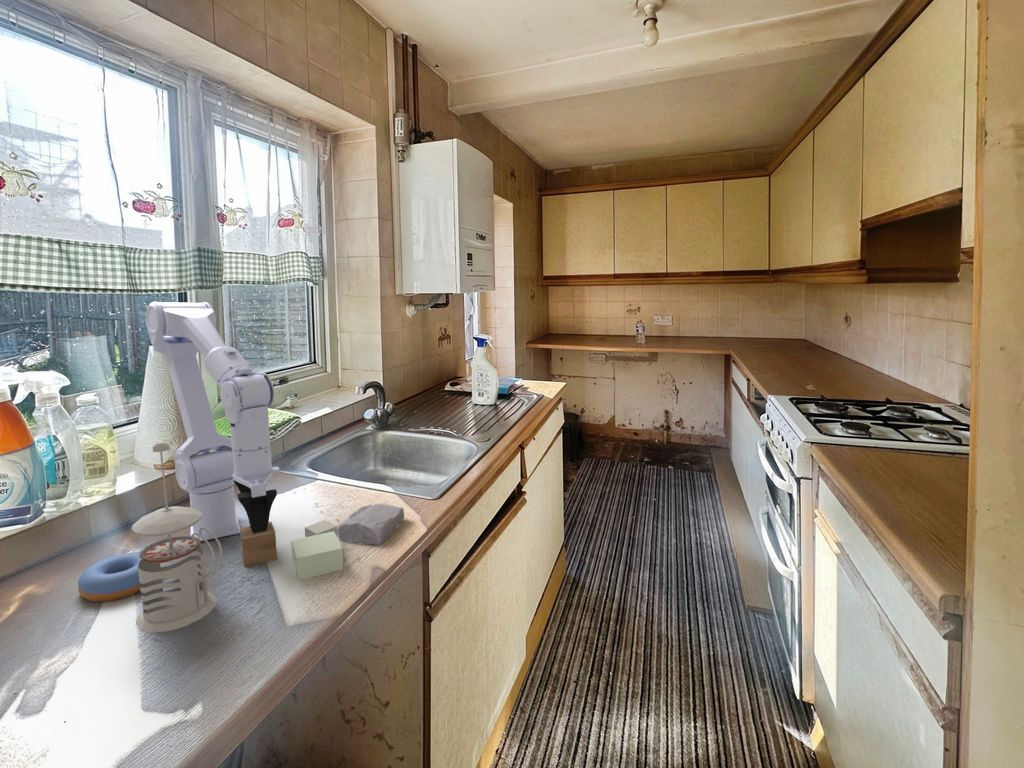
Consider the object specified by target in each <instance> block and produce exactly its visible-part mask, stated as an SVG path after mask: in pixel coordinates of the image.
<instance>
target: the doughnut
mask: <svg viewBox="0 0 1024 768" xmlns="http://www.w3.org/2000/svg"><path fill="white" fill-rule="evenodd" d="M140 552H141V551H135V552H133V551H132V552H124V553H119V554H115V555H112V556H109V557H106V558H103V559H101V560H99V561H96V563H94V564H91V565H89V567H87V568H86V569H85V570H84V571H83V572H82V573H81V575H80V577H79V578H78V580H77V585H78V586H77V587H78V588H77V589H78V593H79V596H81V597H82V598H84V599H86V600H87V601H90V602H91V601H92V602H109V601H113V600H114V601H115V600H120V599H123V598H126V597H129V596H132V595H134V594H136V593H139V592H141V591H140V585H141V583H140V582H139V573H138V565H139V562H140V561H141V560H142V558H140V557H139V556H140ZM138 591H139V592H138Z"/></svg>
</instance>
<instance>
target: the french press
mask: <svg viewBox="0 0 1024 768" xmlns="http://www.w3.org/2000/svg"><path fill="white" fill-rule="evenodd" d="M169 450H170V445H169V444H168V443H167V442H165V441H157V442H156V443H155V444H154V445H152V452H153V453H160V454H159V455H160V464H161V473H162V481H163V482H162V485H163V494H164V501H165V507H163V508H159V509H155V510H154V511H152V512H150V513H148V514H145V515H142V516H141V517H140V518H139V519H138V520H137V521H136V522H134V523H133V524H132V526H131V531H133V533H135V534H136V535H137V536H142V537H161V536H167V535H168V537H167V538H164V539H161V540H160V539H159V540H156V541H154V542H152V543H151V544H149V545H146V546H145V547H144V548H143V549H142V550H141V551H139V552H140V556H139V557H140V558H142V560H141V561H140V562H139V565H138V573H139V582H140V583H141V585H140V591H139V592H140V593H141V595H140V596H141V598H140V599H141V606H142V610H141V612H140V613H139V614H138V615H137V616H136V617H137V619H135V622H136V625H137V626H138V627H139V628H138V627H137V626H136V625H135V626H136V627H137V628H138V630H139V631H141V632H146V633H154V634H155V633H162V632H163V633H164V632H171V631H174V630H178V629H180V628H184V627H187V626H190V625H192V624H194V623H196V622H197V620H198V621H200V620H202V619H203V618H204V617H205V616H207V615H208V614H210V613H211V612H212V611H213V609H214V608H215V607H216V606H217V596H216V595H214V594H212V592H210V591H208V589H209V588H208V579H209V577H211V575H213V574H214V573H216V572H217V571H218V570H219V569H220V567H221V564H222V560H223V547H222V545H221V542H220V540H219V539H218V538H217V537H216V536H215V535H214V534H213V533H212V532H211V531H209V530H207V529H205V528H200V530H199V534H197V533H193V534H192V535H191V534H190V535H189V534H188V535H180V536H179V535H178V536H172V537H171V535H172V534H175V533H179V532H182V531H184V530H188V529H190V528H191V526H193V525H195V524H196V523H197V522H198V521H199V520H200V519H201V517H202V512H200V511H199V510H197V509H194V508H191V507H189V506H188V507H187V506H179V505H174V506H168V498H167V489H166V481H165V480H166V477H165V470H164V458H163V457H164V456H163V452H167V451H169ZM202 530H205V531H207V532H209V533H210V534H211V535H212V536H213V537H214V539H215V541H216V543H217V545H218V548H219V563H218V565H217V567H216V568H215V566H216V559H215V550H214V548H213V547H212V545H211V544H210V542H209V541H208V540H206V539H205V538H204V537H203V536H201V531H202ZM194 535H196V536H198V538H197V537H195V536H194ZM199 538H202V539H203V540H204V541H203V542H205V543H206V544H207V546H208V548H209V549H210V550H211V556H212V566H211V567H212V568H211V569H210V572H208V573H207V569H206V560H205V559H206V557H205V556H206V555H205V548H203V547H202V546H201V545H202V541H201V540H200V539H199ZM194 552H198V553H199V554H201V555H200V556H199V555H190V554H193V553H194ZM189 555H190V556H189ZM186 556H188V557H186ZM183 557H186V558H184V559H182V560H180V561H178V562H175V563H173V564H170V565H166V566H162V565H161V564H164V563H168V562H173V561H174V560H177V559H181V558H183ZM197 560H198V561H199V562H200V563H199V562H198V561H197ZM190 561H192V562H191V563H189V562H190ZM186 563H188V564H186ZM184 564H185V565H184ZM198 569H200V571H199V570H198ZM199 577H201V578H199ZM167 579H168V580H170V579H174V580H171V581H167V582H163V581H164V580H167ZM165 588H166V589H167V588H169V589H168V590H164V589H165ZM195 621H196V622H195ZM193 622H194V623H193ZM191 623H192V624H191Z"/></svg>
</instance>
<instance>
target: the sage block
mask: <svg viewBox="0 0 1024 768" xmlns="http://www.w3.org/2000/svg"><path fill="white" fill-rule="evenodd" d="M339 540H340V539H339V537H338V538H337V536H336V534H335V532H334V531H333V532H328V533H324V534H319V535H314V536H309V537H305V536H304V537H300V538H295V539H291V542H290V543H291V555H292V556H291V557H292V558H291V560H292V565H293V567H294V571H295V574H296V577H297V581H301V580H305V579H310V578H313V577H317V576H321V575H322V576H323V575H325V574H329V573H330V574H331V573H335V572H338V571H341V570H344V555H343V546H342V544H341V543H340V541H339Z"/></svg>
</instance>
